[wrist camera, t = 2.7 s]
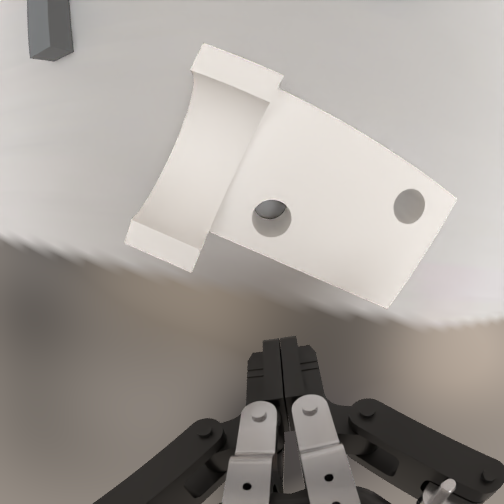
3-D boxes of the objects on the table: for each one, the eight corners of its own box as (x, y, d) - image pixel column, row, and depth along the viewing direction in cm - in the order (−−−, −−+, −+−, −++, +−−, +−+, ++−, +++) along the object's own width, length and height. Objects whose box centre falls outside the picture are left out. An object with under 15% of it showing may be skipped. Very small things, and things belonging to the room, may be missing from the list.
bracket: (174, 190, 17) (124, 243, 11) (226, 73, 15) (203, 43, 8) (369, 278, 20) (413, 357, 13) (426, 182, 17) (504, 226, 10)
